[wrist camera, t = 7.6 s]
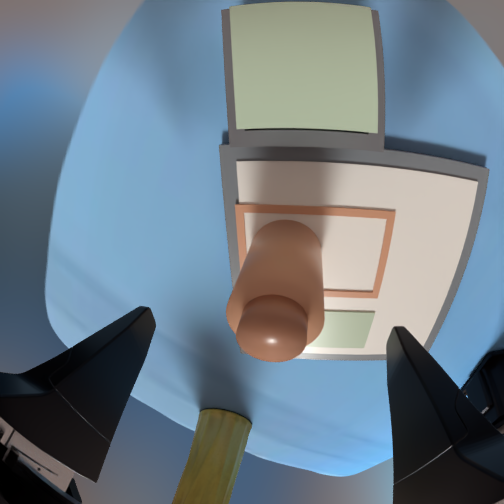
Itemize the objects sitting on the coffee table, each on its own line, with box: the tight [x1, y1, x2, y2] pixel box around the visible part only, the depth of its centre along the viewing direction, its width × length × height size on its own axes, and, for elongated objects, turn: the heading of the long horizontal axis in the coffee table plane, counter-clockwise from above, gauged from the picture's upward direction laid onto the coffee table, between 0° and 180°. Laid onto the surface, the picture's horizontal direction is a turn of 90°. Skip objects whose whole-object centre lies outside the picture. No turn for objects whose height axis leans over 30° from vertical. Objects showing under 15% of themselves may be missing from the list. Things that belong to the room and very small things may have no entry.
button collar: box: [221, 9, 385, 152], centre depth 9 cm, size 6×6×3 cm
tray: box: [219, 144, 489, 360], centre depth 14 cm, size 14×14×1 cm
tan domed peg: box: [226, 220, 325, 362], centre depth 11 cm, size 4×4×6 cm
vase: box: [172, 409, 252, 504], centre depth 21 cm, size 6×6×14 cm
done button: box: [229, 2, 378, 133], centre depth 7 cm, size 4×4×4 cm
